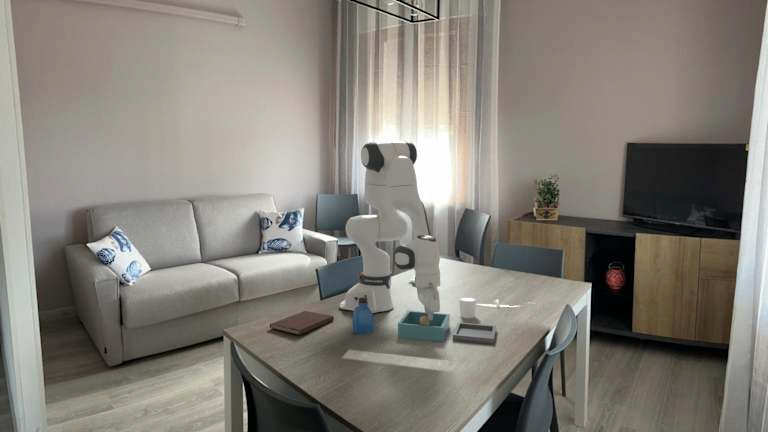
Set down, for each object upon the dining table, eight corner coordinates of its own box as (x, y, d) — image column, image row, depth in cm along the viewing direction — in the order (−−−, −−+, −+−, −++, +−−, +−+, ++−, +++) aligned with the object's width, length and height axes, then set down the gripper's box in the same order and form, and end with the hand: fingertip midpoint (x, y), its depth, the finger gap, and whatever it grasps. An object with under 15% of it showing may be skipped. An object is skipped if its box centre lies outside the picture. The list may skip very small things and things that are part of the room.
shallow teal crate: (397, 337, 181) (397, 323, 180) (407, 323, 196) (407, 310, 195) (442, 342, 176) (443, 327, 176) (449, 327, 192) (449, 314, 191)
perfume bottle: (356, 334, 184) (356, 301, 183) (353, 328, 190) (352, 297, 188) (373, 332, 186) (373, 300, 184) (369, 327, 192) (369, 295, 190)
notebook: (269, 327, 192) (269, 322, 192) (304, 314, 209) (304, 309, 208) (299, 335, 184) (299, 329, 184) (333, 320, 200) (333, 315, 200)
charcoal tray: (452, 340, 178) (452, 334, 178) (457, 327, 192) (457, 322, 191) (493, 344, 174) (493, 338, 174) (495, 331, 188) (496, 325, 188)
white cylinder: (475, 319, 201) (476, 302, 201) (458, 318, 203) (458, 300, 202) (476, 314, 208) (476, 297, 207) (459, 313, 209) (459, 296, 209)
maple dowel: (419, 327, 187) (418, 319, 179) (425, 322, 188) (425, 314, 180) (424, 334, 185) (423, 326, 178) (431, 329, 186) (430, 320, 179)
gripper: (443, 285, 174) (445, 325, 174) (430, 275, 194) (431, 311, 195) (425, 287, 173) (426, 327, 174) (413, 276, 193) (415, 312, 194)
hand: (429, 318), depth 184 cm, fingers closed
